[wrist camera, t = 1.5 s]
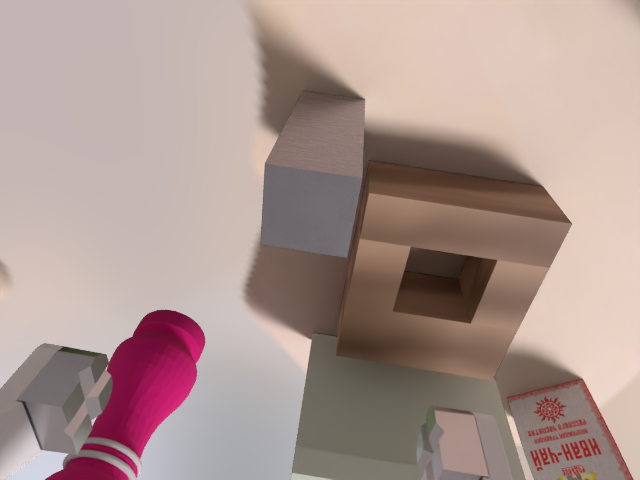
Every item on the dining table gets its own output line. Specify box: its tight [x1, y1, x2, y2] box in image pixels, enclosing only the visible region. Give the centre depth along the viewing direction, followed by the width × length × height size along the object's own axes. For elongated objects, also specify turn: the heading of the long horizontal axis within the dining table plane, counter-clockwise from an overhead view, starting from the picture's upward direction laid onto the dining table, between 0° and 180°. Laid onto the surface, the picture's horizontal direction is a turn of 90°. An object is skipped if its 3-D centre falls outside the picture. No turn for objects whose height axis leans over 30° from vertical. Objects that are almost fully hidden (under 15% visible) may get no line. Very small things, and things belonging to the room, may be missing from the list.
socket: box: [336, 161, 572, 380], centre depth 31 cm, size 14×12×5 cm
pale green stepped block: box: [291, 333, 526, 480], centre depth 31 cm, size 6×16×16 cm, turn 83°
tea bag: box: [507, 379, 633, 480], centre depth 37 cm, size 4×7×10 cm, turn 120°
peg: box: [261, 90, 365, 258], centre depth 24 cm, size 4×4×12 cm
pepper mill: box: [45, 310, 205, 480], centre depth 33 cm, size 7×7×20 cm
